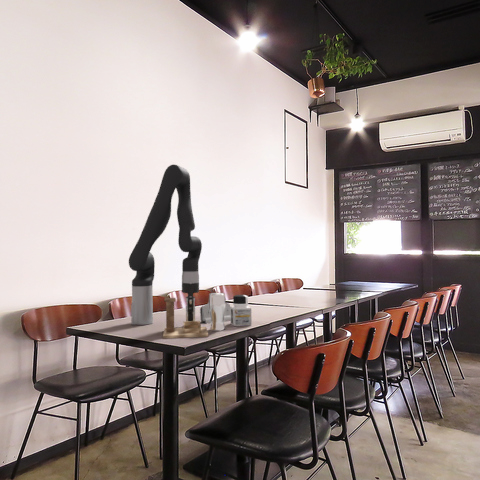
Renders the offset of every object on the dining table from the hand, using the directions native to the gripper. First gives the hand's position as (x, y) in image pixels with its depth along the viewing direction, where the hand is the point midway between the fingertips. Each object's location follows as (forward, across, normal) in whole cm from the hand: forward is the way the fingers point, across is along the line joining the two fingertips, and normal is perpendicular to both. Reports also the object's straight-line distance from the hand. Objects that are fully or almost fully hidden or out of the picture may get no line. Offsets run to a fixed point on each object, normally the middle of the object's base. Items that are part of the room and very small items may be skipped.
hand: (190, 320), depth 181 cm
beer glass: (+2, +10, +11) cm, 15 cm away
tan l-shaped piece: (+2, +16, -2) cm, 16 cm away
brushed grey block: (+2, 0, 0) cm, 2 cm away
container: (+2, 0, +22) cm, 22 cm away
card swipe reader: (+3, -12, +12) cm, 18 cm away
